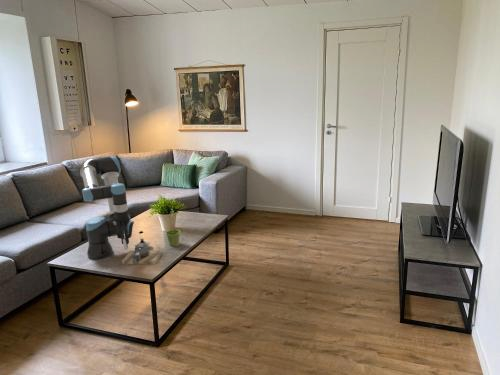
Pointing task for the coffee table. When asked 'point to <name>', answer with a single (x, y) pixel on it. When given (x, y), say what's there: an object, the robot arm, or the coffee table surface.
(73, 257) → the coffee table surface
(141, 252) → the saucepan with lid
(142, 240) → the grey joystick
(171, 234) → the plant pot
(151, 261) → the wooden cutting board
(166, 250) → the coffee table surface
